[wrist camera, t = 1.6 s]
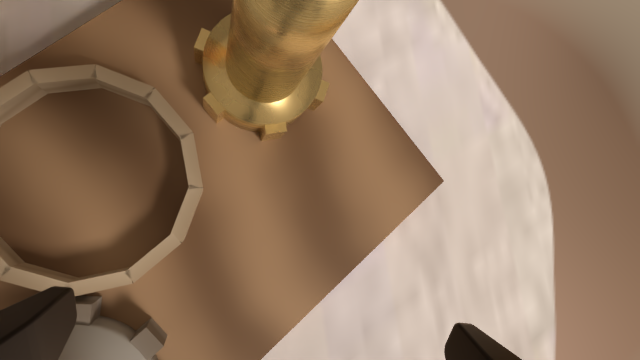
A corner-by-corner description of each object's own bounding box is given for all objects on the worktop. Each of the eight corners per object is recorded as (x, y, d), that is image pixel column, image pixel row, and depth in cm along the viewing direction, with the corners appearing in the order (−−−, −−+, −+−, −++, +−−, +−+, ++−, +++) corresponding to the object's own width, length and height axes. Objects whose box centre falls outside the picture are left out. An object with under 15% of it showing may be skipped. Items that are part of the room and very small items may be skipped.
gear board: (62, 540, 19) (25, 623, 15) (-242, 246, 17) (-373, 255, 13) (432, 182, 25) (474, 176, 21) (240, -61, 23) (247, -116, 19)
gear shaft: (250, 163, 21) (302, 99, 10) (168, 67, 21) (121, -123, 9) (341, 88, 23) (479, -42, 11) (268, -3, 22) (337, -240, 11)
